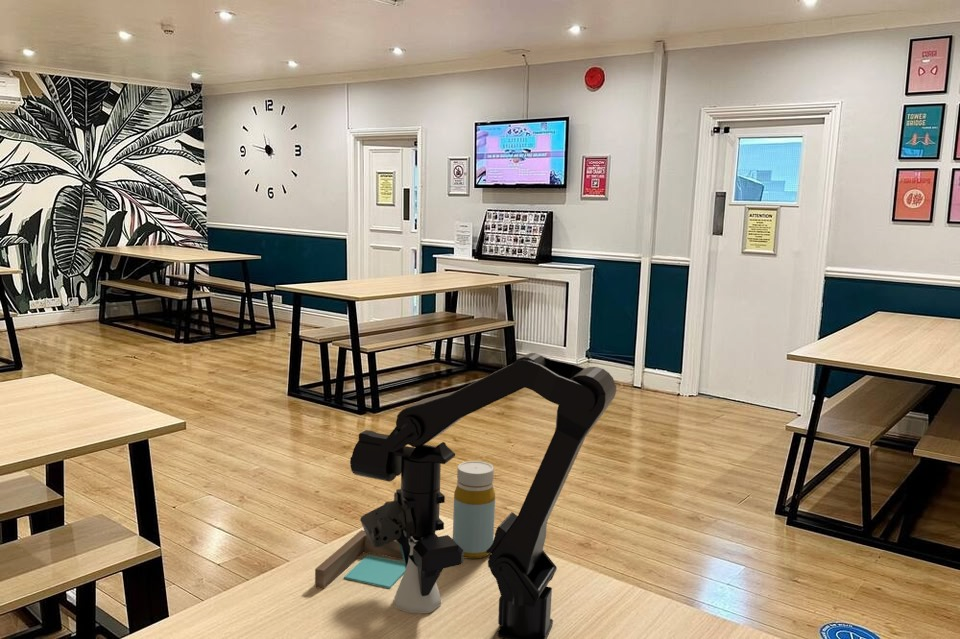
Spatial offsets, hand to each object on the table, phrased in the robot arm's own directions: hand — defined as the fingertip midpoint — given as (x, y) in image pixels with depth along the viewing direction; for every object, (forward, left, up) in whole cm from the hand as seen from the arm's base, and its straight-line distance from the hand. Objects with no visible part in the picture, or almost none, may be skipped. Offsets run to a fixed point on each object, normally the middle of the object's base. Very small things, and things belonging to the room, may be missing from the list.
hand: (418, 586), depth 109 cm
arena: (+10, -5, -2) cm, 11 cm away
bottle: (-2, -19, -3) cm, 19 cm away
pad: (+9, -6, -2) cm, 11 cm away
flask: (0, 0, -3) cm, 3 cm away
